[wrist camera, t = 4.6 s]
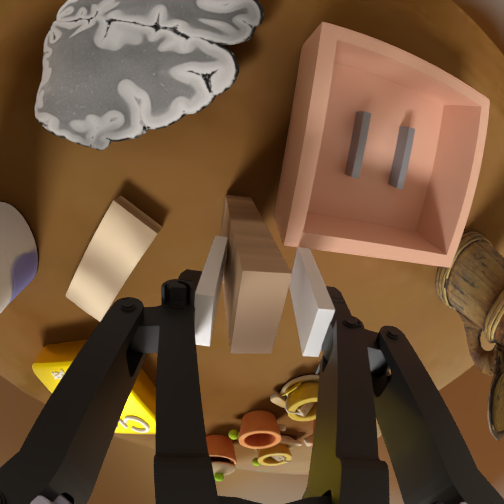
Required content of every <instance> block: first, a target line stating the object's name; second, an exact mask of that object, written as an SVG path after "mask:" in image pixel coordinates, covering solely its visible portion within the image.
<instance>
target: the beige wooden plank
mask: <svg viewBox="0 0 504 504" xmlns="http://www.w3.org/2000/svg"><path fill="white" fill-rule="evenodd" d="M161 228H162V226H161V225H159V224H158V223H157V222H155V221H154V220H153V219H151V218H150V217H149V216H147V215H146V214H145V213H143V212H142V211H141V210H139V209H138V208H137V207H135V206H134V205H133V204H131V203H130V202H129V201H128V200H126V199H125V198H124V197H122V196H119V197H118V198H116V199H115V200H113V202H112V204H111V205H110V207H109V209H108V211H107V212H106V214H105V216H104V218H103V219H102V221H101V223H100V225H99V227H98V229H97V230H96V232H95V234H94V236H93V238H92V240H91V242H90V244H89V246H88V248H87V250H86V252H85V254H84V256H83V258H82V260H81V262H80V264H79V266H78V269H77V271H76V273H75V275H74V277H73V280H72V282H71V284H70V286H69V289H68V291H67V293H66V297H67V298H68V299H70V300H71V301H72V302H74V303H75V304H76V305H78V306H79V307H80V308H82V309H83V310H84V311H86V312H87V313H88V314H90V315H91V316H92V317H94V318H95V319H97V320H98V321H99V322H100V321H101V320H102V318H103V317H104V315H105V313H106V312H107V310H108V309H109V307H110V305H111V304H112V302H113V300H114V299H115V297H116V295H117V294H118V292H119V291H120V289H121V288H122V286H123V284H124V283H125V281H126V280H127V278H128V277H129V275H130V274H131V272H132V271H133V269H134V267H135V266H136V264H137V263H138V261H139V260H140V258H141V257H142V256H143V254H144V253H145V251H146V250H147V248H148V247H149V245H150V244H151V242H152V241H153V240H154V238H155V237H156V235H157V234H158V232H159V231H160V230H161Z"/></svg>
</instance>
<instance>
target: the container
mask: <svg viewBox="0 0 504 504" xmlns="http://www.w3.org/2000/svg"><path fill="white" fill-rule="evenodd" d="M37 267H38V254H37V248H36V244H35V240H34V237H33V235H32V232H31V230H30V228H29V226H28V224H27V222H26V221H25V219H24V218H23V216H22V215H21V214H20V213H19V212H18V211H17V210H16V209H15V208H14V207H13V206H11V205H10V204H7V203H5V202H0V313H1V312H2V311H3V310H4V309H5V307H6V306H7V305H8V304H9V303H10V302H11V301H12V300H13V299H14V298H15V297H16V296H17V295H18V294H19V293H20V292H21V291H22V290H23V289H24V288H25V287H26V286H27V285H28V284H29V283H30V282H31V281H32V280H33V279H34V277H35V275H36V272H37Z"/></svg>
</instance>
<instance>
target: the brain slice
mask: <svg viewBox="0 0 504 504" xmlns="http://www.w3.org/2000/svg"><path fill="white" fill-rule="evenodd" d="M56 17H57V20H56V21H54V22H53V23H52V26H51V28H50V30H49V32H48V34H47V36H46V38H45V40H44V46H43V51H44V53H43V63H42V66H43V73H42V81H41V83H40V86H39V89H38V92H37V98H36V104H35V117H36V119H37V121H38V122H39V123H40V124H42V126H43V127H44V128H45V129H47V130H48V131H50V132H51V133H52V134H54V135H56V136H58V137H64V138H66V139H68V140H70V141H72V142H75V143H77V144H80V145H83V146H86V147H92V148H95V149H97V150H102V149H106V148H107V147H108V146H109V145H110V143H111V141H123V140H127V139H134V138H139V137H140V136H141V135H142V134H144V133H146V132H147V130H149V129H160V128H164V127H167V126H169V125H171V124H173V123H175V122H177V121H178V120H180V119H181V118H182V117H183V116H185V115H186V114H195V113H197V112H199V111H201V110H202V109H204V108H205V107H207V106H208V105H209V104H210V103H211V102H212V101H213V100H214V98H215V97H216V96H217V95H219V94H221V93H223V92H225V91H226V90H227V89H229V88H230V87H231V85H232V84H233V83H234V82H235V81H236V79H237V76H238V73H239V66H238V63H237V59H236V56H235V55H234V54H233V53H232V52H231V51H230V50H229V49H227V48H225V47H223V46H224V45H233V44H238V43H242V42H245V41H248V40H249V39H250V38H251V36H253V34H254V32H255V29H256V26H258V25H259V24H261V23H262V20H263V18H264V15H263V8H262V5H261V4H260V3H259V2H258V1H257V0H67V1H66V2H65V4H64V5H63V6H62V7H61V8H60V9H59V11H58V13H57V15H56Z"/></svg>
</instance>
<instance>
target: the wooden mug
mask: <svg viewBox="0 0 504 504" xmlns="http://www.w3.org/2000/svg"><path fill="white" fill-rule="evenodd" d="M435 284H436V292H437V294H438V296H439V298H440V299H441V300H442V301H443V303H444V304H445V305H447V306H448V307H450V308H451V309H455V310H456V311H457V312H458V314H459V316H460V317H461V319H462V321H463V324H464V327H465V331H466V336H467V342H468V346H469V351H470V355H471V357H472V359H473V361H474V363H475V365H476V366H477V367H478V369H479V370H480V371H481V372H483V373H485V374H486V375H490V376H494V377H493V379H492V382H491V386H490V389H489V396H488V407H487V412H488V414H487V415H488V424H489V429H490V431H491V434H492V435H493V436H494V437H495V439H497V440H498V441H500V440H501V438H502V437H503V435H504V258H503V257H502V256H501V255H500V254H499V253H498V252H497V251H496V250H495V249H494V247H493V245H492V244H491V243H490V242H489V241H488V240H487V239H486V238H485V237H484V236H483V235H482V234H480V233H478V232H473V231H470V232H467V233H464V234H463V235H462V237H461V240H460V243H459V246H458V248H457V251H456V254H455V257H454V259H453V262H452V264H451V267H450V268H448V267H441V266H439V268H438V272H437V277H436V282H435ZM482 330H483V331H484V333H485V337H486V339H487V341H488V342H489V343H496V345H495V346H494V348H493V349H492V350H491V351H485V350H483V348H482V347H481V342H480V337H481V332H482Z"/></svg>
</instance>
